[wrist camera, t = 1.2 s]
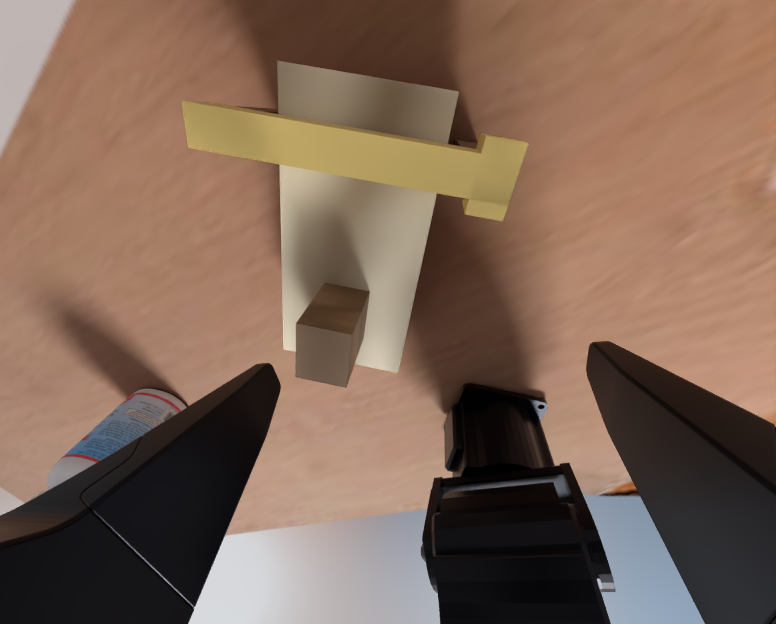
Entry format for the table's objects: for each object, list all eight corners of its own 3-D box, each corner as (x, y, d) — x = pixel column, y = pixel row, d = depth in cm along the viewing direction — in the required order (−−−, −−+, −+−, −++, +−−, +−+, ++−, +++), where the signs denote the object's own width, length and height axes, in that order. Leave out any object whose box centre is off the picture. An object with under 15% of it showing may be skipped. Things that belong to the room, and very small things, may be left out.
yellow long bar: (516, 139, 12) (528, 142, 11) (495, 208, 14) (502, 221, 12) (213, 86, 13) (178, 81, 11) (220, 158, 14) (190, 163, 13)
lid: (457, 93, 13) (466, 80, 9) (399, 362, 20) (389, 427, 16) (287, 64, 13) (216, 38, 9) (290, 339, 21) (250, 397, 16)
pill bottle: (128, 378, 31) (-12, 495, 21) (191, 395, 31) (79, 520, 21) (140, 421, 34) (22, 539, 24) (197, 436, 34) (101, 561, 24)
